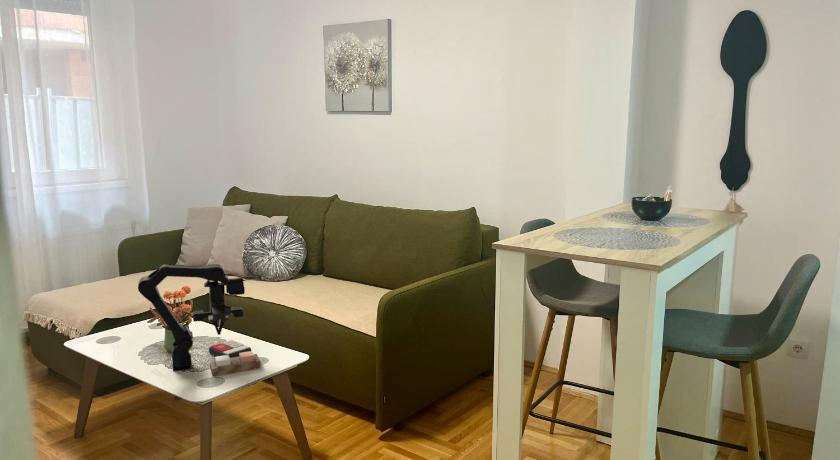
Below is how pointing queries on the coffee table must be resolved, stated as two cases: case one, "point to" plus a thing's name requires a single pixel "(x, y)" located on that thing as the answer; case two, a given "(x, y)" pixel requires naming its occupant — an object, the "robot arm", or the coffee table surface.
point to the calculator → (228, 349)
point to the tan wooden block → (246, 357)
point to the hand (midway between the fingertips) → (219, 334)
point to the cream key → (222, 360)
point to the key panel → (235, 366)
